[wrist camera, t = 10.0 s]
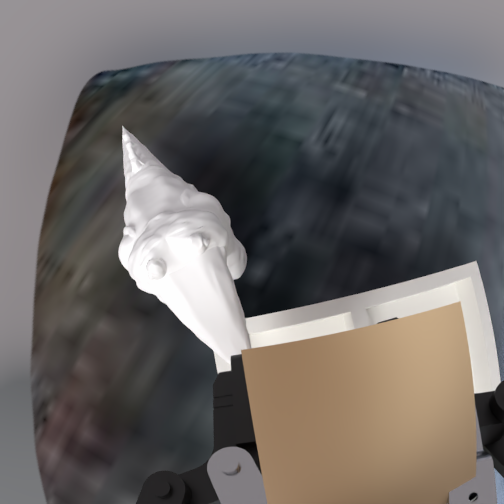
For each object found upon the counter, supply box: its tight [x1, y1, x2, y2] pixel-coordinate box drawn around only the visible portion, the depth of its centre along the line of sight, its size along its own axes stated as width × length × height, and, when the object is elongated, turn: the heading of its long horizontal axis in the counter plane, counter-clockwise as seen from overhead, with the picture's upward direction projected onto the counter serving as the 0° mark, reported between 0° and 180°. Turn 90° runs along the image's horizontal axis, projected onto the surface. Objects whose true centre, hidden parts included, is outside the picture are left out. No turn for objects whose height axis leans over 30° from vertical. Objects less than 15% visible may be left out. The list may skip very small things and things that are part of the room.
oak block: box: [241, 301, 476, 504], centre depth 10 cm, size 4×4×11 cm
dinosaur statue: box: [119, 126, 252, 365], centre depth 21 cm, size 7×24×11 cm, turn 32°
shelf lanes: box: [214, 261, 501, 393], centre depth 19 cm, size 20×17×4 cm
